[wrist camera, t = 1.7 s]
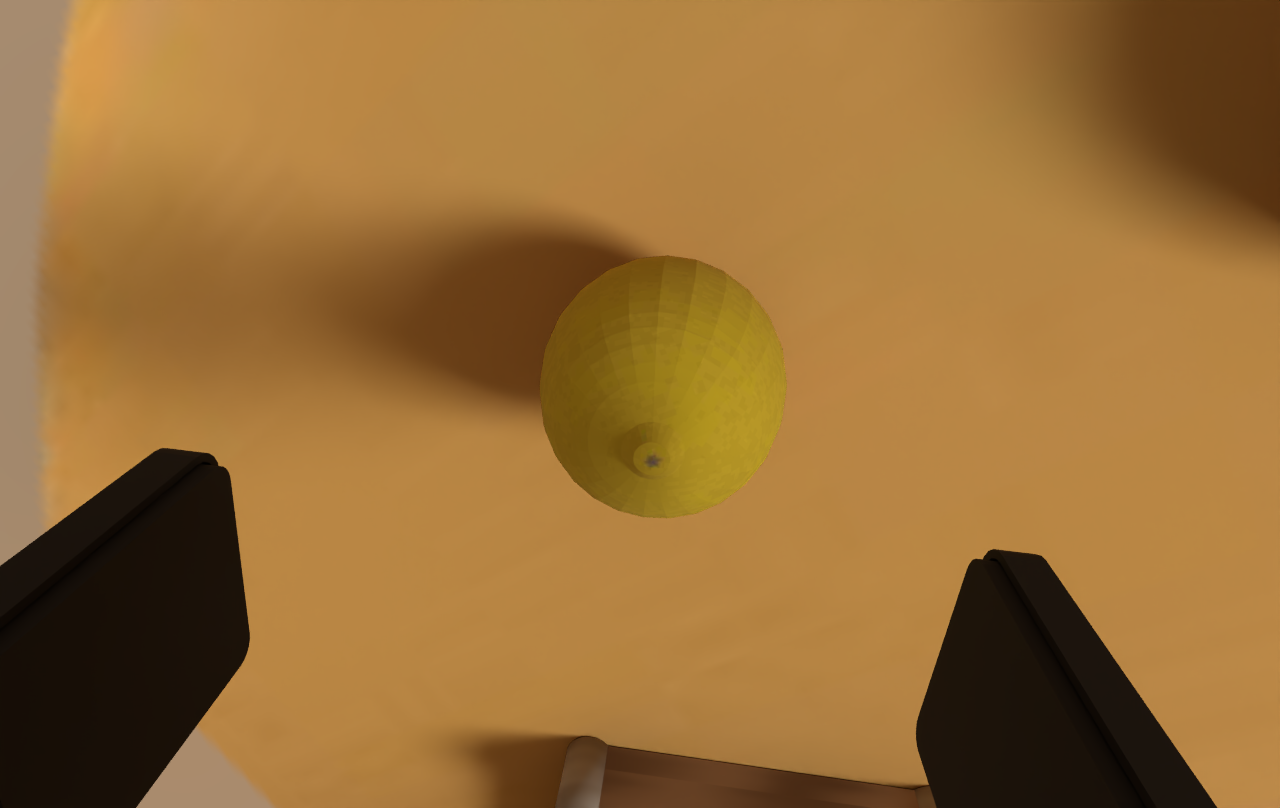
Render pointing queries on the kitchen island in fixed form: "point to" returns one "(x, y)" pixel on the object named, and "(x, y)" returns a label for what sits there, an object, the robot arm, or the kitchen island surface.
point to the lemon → (662, 387)
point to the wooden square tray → (708, 784)
